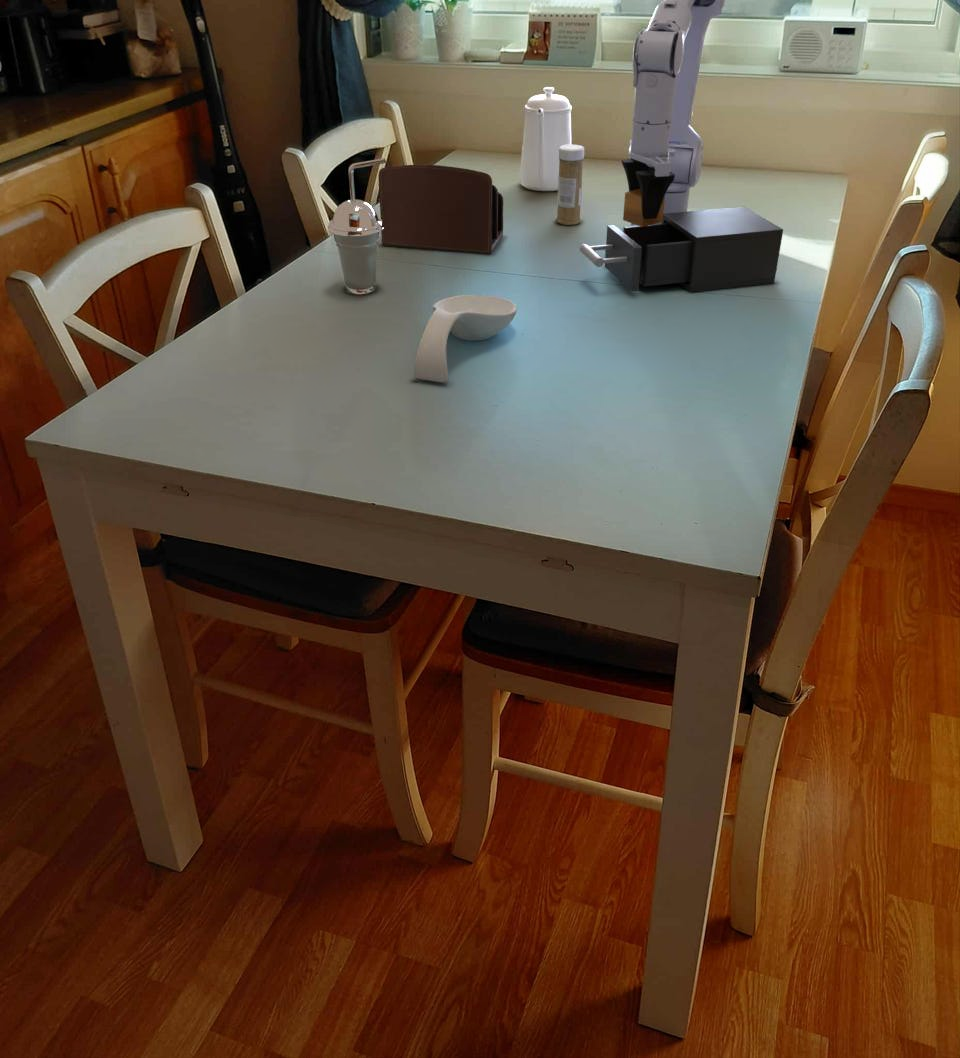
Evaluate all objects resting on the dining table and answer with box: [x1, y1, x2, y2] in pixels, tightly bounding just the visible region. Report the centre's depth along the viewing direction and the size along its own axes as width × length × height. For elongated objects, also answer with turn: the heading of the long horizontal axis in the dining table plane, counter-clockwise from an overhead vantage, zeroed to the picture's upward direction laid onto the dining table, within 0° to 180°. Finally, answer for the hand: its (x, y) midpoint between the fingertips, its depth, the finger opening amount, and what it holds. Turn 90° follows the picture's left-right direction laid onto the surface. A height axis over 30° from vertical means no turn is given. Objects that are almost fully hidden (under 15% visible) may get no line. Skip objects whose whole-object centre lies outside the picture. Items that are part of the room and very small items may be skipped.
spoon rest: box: [413, 294, 518, 383], centre depth 133 cm, size 24×12×7 cm, turn 162°
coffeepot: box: [519, 86, 573, 192], centre depth 197 cm, size 11×25×19 cm, turn 168°
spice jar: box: [556, 144, 585, 226], centre depth 178 cm, size 5×5×14 cm
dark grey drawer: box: [579, 223, 694, 292], centre depth 154 cm, size 19×11×7 cm, turn 105°
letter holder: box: [378, 164, 504, 255], centre depth 169 cm, size 10×20×14 cm, turn 76°
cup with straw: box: [327, 157, 387, 296], centre depth 148 cm, size 8×9×20 cm
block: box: [622, 189, 665, 227], centre depth 153 cm, size 4×4×4 cm
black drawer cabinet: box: [662, 206, 784, 293], centre depth 157 cm, size 15×13×9 cm
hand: (643, 212), depth 154 cm, fingers closed on block, 6 cm apart
